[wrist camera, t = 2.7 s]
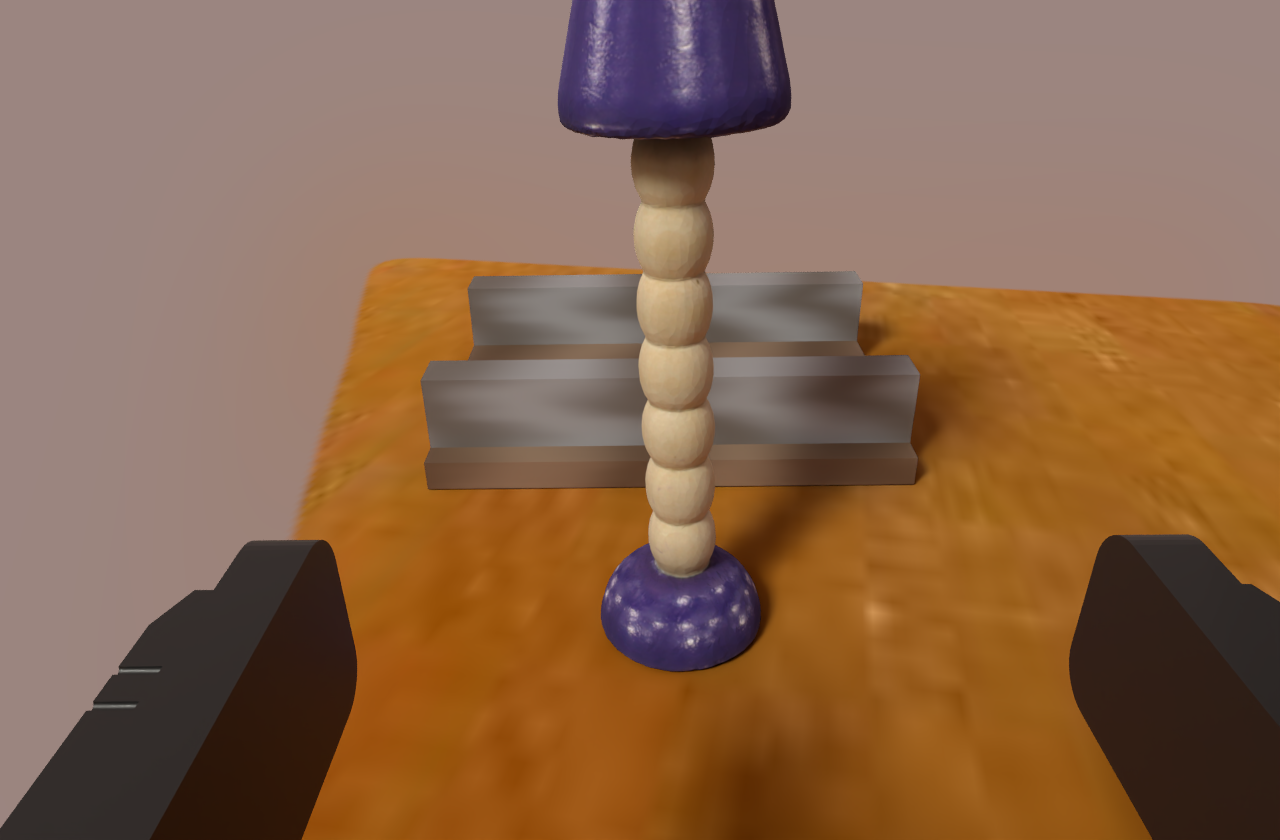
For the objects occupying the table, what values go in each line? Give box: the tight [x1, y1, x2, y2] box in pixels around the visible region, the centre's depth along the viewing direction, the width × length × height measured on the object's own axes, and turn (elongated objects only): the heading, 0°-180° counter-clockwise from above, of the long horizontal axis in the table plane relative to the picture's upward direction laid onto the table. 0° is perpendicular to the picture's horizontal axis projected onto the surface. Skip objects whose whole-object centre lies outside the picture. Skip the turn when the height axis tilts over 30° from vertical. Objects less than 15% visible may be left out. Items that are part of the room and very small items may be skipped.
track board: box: [421, 271, 920, 489], centre depth 34 cm, size 16×12×4 cm
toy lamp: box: [558, 0, 791, 671], centre depth 20 cm, size 5×5×17 cm
